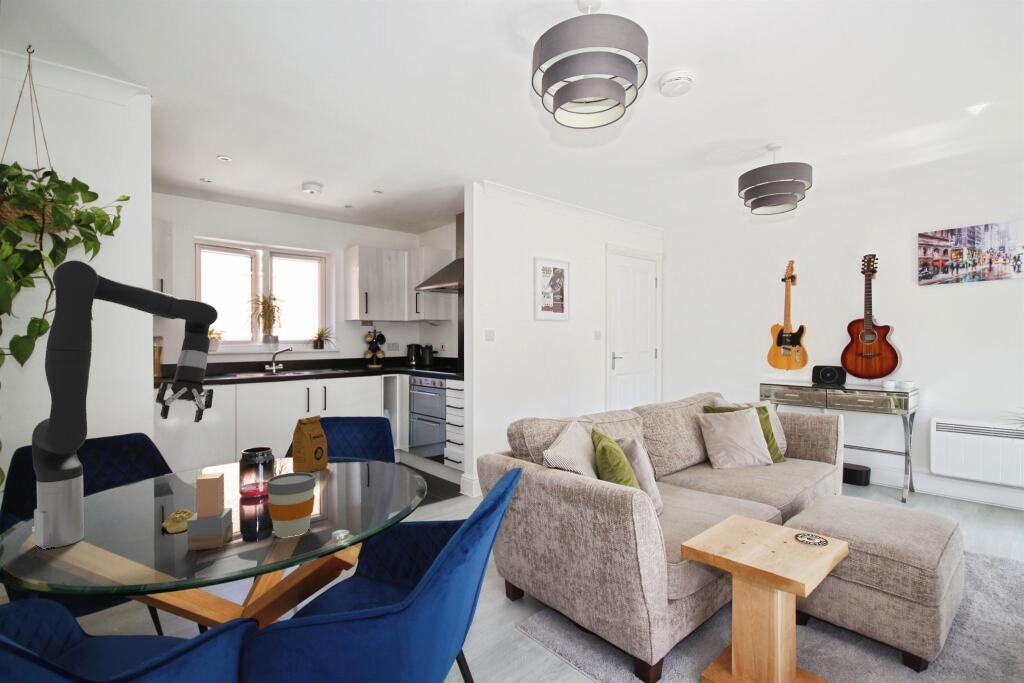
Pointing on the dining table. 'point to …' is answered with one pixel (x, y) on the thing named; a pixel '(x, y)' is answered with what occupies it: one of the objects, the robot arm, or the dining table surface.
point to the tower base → (210, 539)
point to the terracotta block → (210, 495)
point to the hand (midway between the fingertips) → (181, 420)
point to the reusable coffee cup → (291, 502)
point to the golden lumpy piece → (177, 521)
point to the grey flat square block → (209, 523)
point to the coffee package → (309, 446)
